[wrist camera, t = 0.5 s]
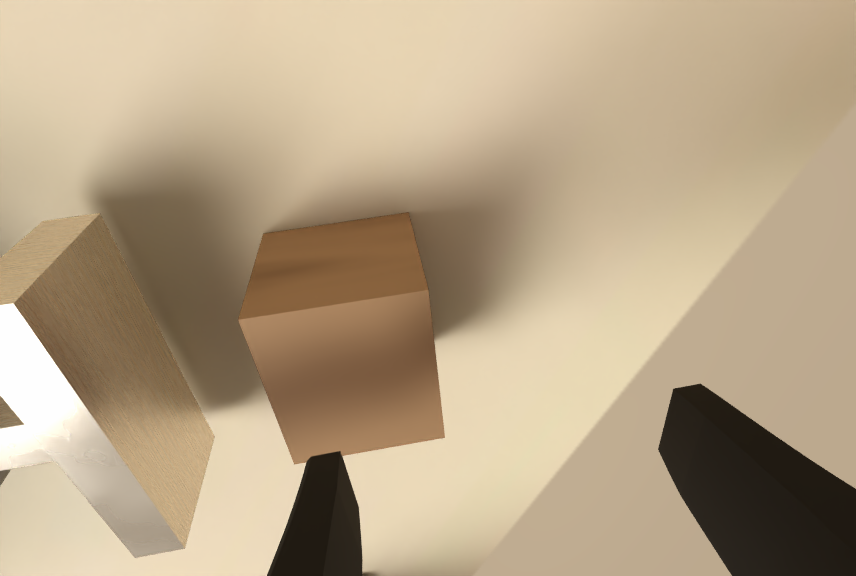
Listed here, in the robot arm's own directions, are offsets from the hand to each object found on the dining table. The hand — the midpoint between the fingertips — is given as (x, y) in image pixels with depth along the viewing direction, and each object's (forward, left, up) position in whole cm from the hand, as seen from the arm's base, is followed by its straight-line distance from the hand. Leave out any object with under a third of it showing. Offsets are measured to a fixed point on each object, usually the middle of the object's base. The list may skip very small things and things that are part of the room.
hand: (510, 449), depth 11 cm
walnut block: (-1, +4, -9) cm, 10 cm away
